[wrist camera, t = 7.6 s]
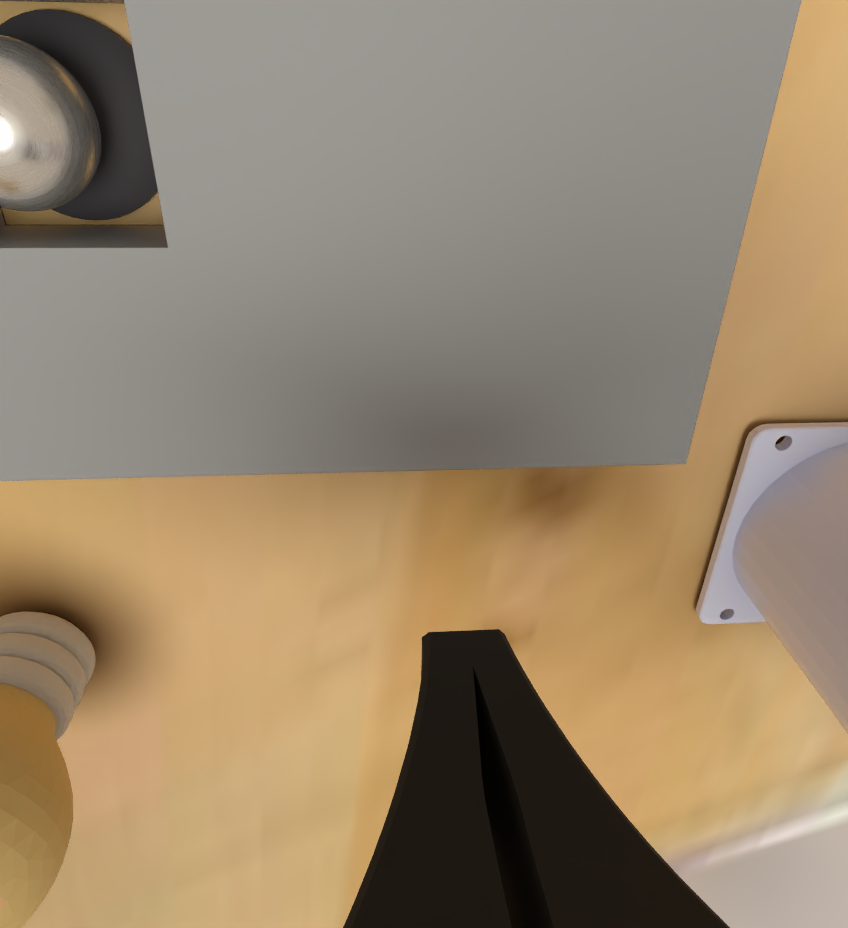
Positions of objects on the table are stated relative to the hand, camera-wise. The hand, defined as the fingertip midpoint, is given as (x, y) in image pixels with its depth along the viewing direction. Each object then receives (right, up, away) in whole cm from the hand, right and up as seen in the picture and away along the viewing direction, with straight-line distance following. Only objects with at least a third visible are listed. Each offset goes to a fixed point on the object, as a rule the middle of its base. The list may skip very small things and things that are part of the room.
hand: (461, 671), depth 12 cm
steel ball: (-9, +10, +2) cm, 14 cm away
